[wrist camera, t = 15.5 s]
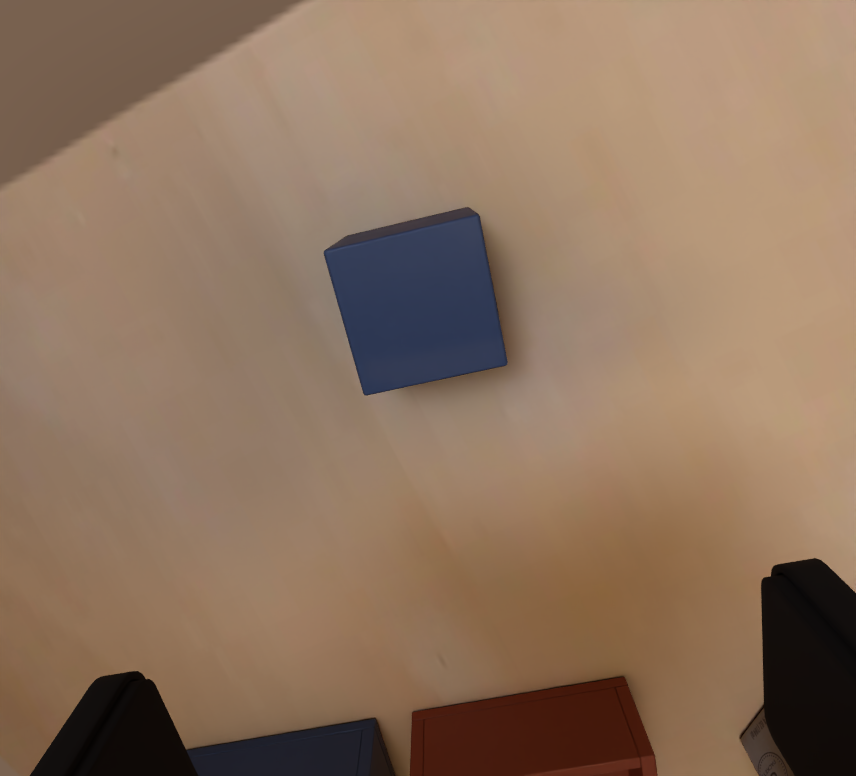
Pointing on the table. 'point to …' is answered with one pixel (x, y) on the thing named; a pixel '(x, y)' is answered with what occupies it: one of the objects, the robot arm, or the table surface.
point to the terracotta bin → (536, 735)
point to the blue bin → (300, 754)
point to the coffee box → (764, 749)
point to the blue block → (417, 301)
